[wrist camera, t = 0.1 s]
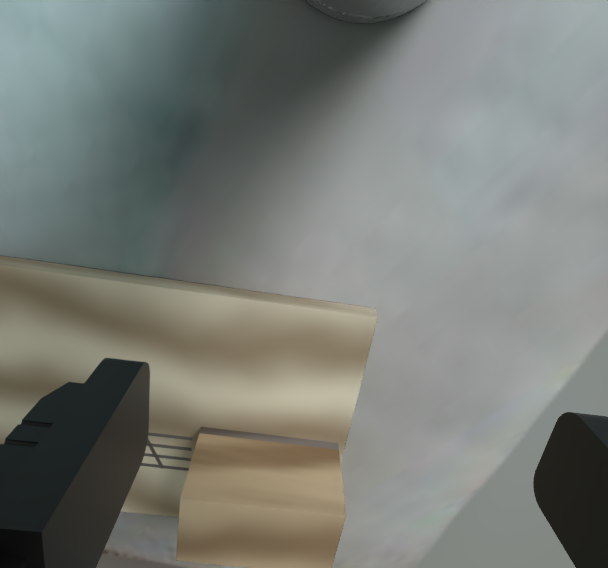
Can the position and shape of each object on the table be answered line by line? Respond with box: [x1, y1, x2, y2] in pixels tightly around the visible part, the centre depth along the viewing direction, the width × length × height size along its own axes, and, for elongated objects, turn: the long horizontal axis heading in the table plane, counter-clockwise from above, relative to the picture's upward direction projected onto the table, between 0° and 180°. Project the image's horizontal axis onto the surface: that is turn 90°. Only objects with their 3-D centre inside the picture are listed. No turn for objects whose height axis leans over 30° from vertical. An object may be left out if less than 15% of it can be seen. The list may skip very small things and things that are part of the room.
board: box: [0, 256, 378, 517], centre depth 29 cm, size 18×23×1 cm
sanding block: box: [176, 427, 346, 568], centre depth 28 cm, size 5×9×6 cm, turn 81°
